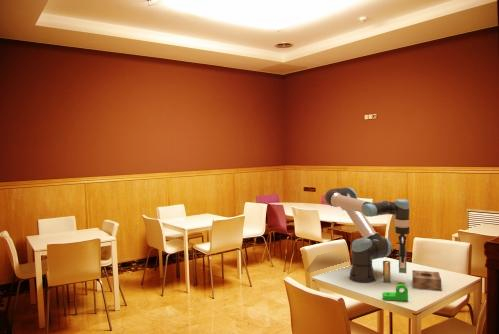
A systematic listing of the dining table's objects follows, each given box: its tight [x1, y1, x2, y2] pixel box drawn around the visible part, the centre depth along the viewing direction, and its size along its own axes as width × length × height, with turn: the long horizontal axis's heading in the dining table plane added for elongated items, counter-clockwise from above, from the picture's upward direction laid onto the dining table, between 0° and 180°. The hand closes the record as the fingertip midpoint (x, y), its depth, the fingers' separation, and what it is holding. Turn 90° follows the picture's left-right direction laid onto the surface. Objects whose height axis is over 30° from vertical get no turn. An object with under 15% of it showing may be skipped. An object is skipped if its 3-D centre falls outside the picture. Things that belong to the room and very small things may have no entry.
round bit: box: [382, 260, 392, 284], centre depth 224 cm, size 4×4×12 cm
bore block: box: [411, 269, 442, 292], centre depth 216 cm, size 14×14×6 cm
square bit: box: [398, 244, 407, 274], centre depth 220 cm, size 4×4×15 cm
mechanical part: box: [382, 283, 409, 302], centre depth 199 cm, size 12×6×8 cm, turn 79°
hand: (402, 266), depth 220 cm, fingers closed on square bit, 4 cm apart
